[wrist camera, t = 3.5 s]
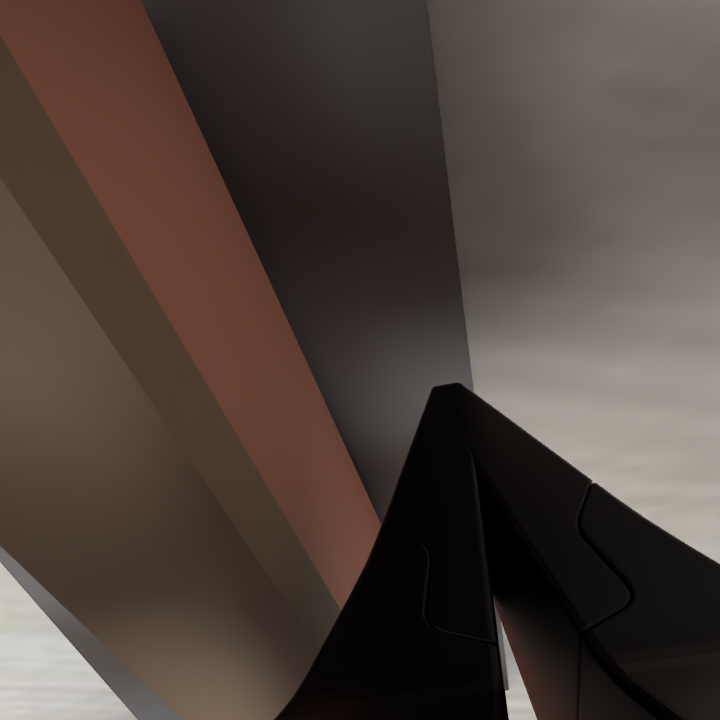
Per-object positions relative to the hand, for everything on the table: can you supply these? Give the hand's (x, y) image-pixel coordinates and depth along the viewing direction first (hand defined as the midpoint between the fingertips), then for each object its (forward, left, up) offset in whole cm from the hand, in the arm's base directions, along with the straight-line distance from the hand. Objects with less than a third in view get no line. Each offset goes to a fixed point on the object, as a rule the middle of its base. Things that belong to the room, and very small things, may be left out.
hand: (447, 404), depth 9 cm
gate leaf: (-3, +3, -3) cm, 5 cm away
